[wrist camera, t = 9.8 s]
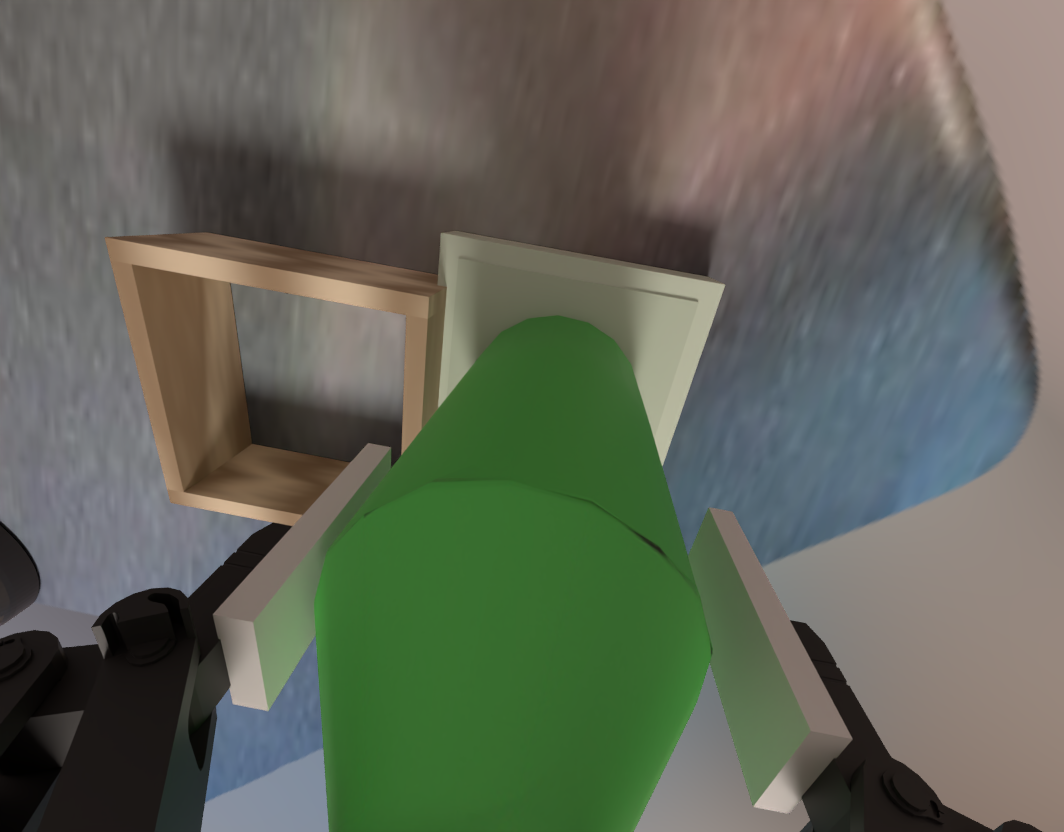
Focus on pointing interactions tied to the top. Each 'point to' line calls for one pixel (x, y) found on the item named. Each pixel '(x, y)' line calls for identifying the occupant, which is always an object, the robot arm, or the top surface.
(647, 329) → the stand block
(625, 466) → the bottle
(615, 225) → the top surface
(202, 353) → the open square wooden frame
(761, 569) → the robot arm
